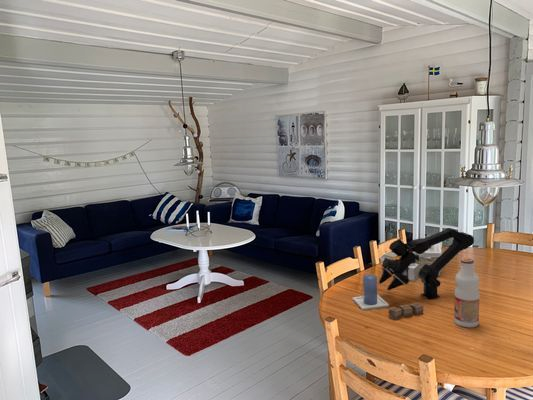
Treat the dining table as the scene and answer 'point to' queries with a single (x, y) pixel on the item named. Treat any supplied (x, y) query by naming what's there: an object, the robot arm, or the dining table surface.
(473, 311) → the fruit juice
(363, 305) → the tray
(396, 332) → the dining table surface
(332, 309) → the dining table surface
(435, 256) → the storage basket
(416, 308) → the walnut block
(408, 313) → the walnut block
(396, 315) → the walnut block
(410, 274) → the container
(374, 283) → the blue cylinder
